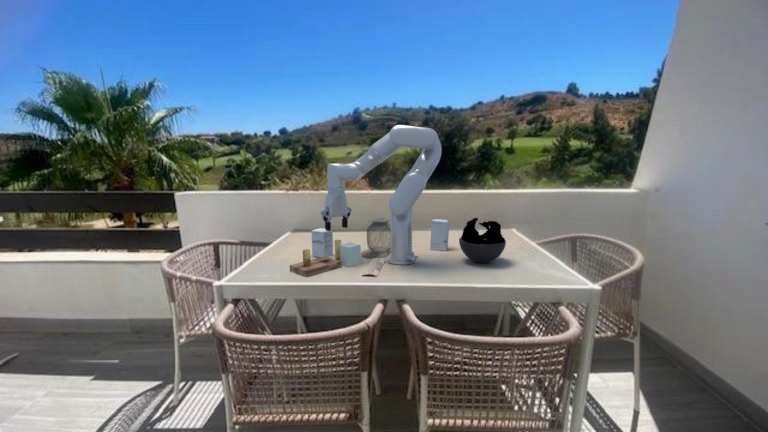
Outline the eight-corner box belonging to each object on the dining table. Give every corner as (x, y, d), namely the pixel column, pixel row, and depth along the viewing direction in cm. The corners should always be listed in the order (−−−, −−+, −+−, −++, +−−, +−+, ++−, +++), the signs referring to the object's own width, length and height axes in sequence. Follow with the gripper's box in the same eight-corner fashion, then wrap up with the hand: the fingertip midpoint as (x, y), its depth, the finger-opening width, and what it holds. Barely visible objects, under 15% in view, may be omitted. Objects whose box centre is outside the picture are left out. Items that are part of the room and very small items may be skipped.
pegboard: (341, 267, 166) (341, 246, 164) (306, 277, 153) (305, 254, 152) (324, 261, 174) (323, 242, 173) (289, 270, 161) (288, 249, 160)
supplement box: (311, 256, 183) (310, 230, 181) (321, 252, 189) (320, 227, 187) (324, 258, 180) (323, 231, 177) (333, 254, 186) (332, 228, 184)
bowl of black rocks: (507, 269, 160) (509, 225, 157) (458, 267, 164) (459, 223, 161) (502, 256, 180) (504, 216, 176) (458, 254, 184) (459, 215, 180)
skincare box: (429, 249, 193) (430, 220, 191) (432, 247, 199) (433, 218, 196) (446, 251, 190) (447, 221, 188) (449, 248, 196) (449, 219, 194)
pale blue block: (360, 263, 170) (360, 244, 169) (349, 267, 166) (349, 247, 164) (351, 261, 175) (350, 242, 173) (340, 264, 170) (339, 245, 169)
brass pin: (343, 259, 177) (342, 240, 176) (338, 260, 175) (337, 241, 174) (338, 258, 179) (338, 239, 178) (333, 259, 177) (333, 240, 176)
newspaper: (372, 261, 177) (372, 257, 176) (387, 261, 176) (387, 258, 175) (362, 278, 154) (361, 273, 153) (379, 278, 153) (379, 274, 152)
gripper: (345, 189, 181) (345, 225, 184) (315, 191, 168) (315, 230, 171) (356, 190, 176) (356, 227, 179) (325, 193, 163) (326, 233, 166)
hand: (336, 228), depth 175 cm, fingers open, 9 cm apart
